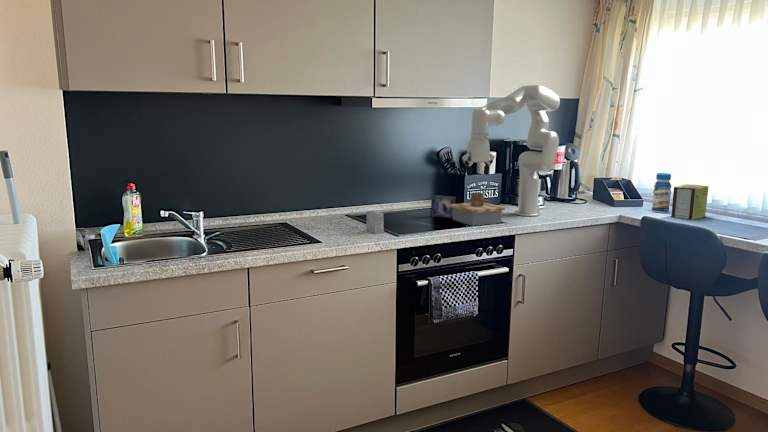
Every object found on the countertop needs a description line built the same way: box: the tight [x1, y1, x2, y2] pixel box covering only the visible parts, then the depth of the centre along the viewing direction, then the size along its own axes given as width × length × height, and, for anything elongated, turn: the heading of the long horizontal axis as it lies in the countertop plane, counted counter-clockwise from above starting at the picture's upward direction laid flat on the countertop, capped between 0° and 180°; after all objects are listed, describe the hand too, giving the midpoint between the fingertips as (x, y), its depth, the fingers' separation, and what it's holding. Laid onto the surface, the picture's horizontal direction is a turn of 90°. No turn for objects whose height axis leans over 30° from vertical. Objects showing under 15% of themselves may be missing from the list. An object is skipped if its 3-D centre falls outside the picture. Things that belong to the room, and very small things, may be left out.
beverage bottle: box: [651, 172, 672, 214], centre depth 301 cm, size 8×8×20 cm
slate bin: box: [452, 208, 503, 227], centre depth 268 cm, size 16×16×7 cm
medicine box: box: [365, 210, 385, 235], centre depth 248 cm, size 8×4×9 cm, turn 30°
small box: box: [430, 194, 457, 219], centre depth 281 cm, size 11×6×10 cm, turn 62°
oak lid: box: [450, 191, 506, 213], centre depth 267 cm, size 18×18×7 cm
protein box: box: [670, 183, 709, 221], centre depth 287 cm, size 10×15×16 cm
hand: (477, 174), depth 265 cm, fingers open, 9 cm apart
